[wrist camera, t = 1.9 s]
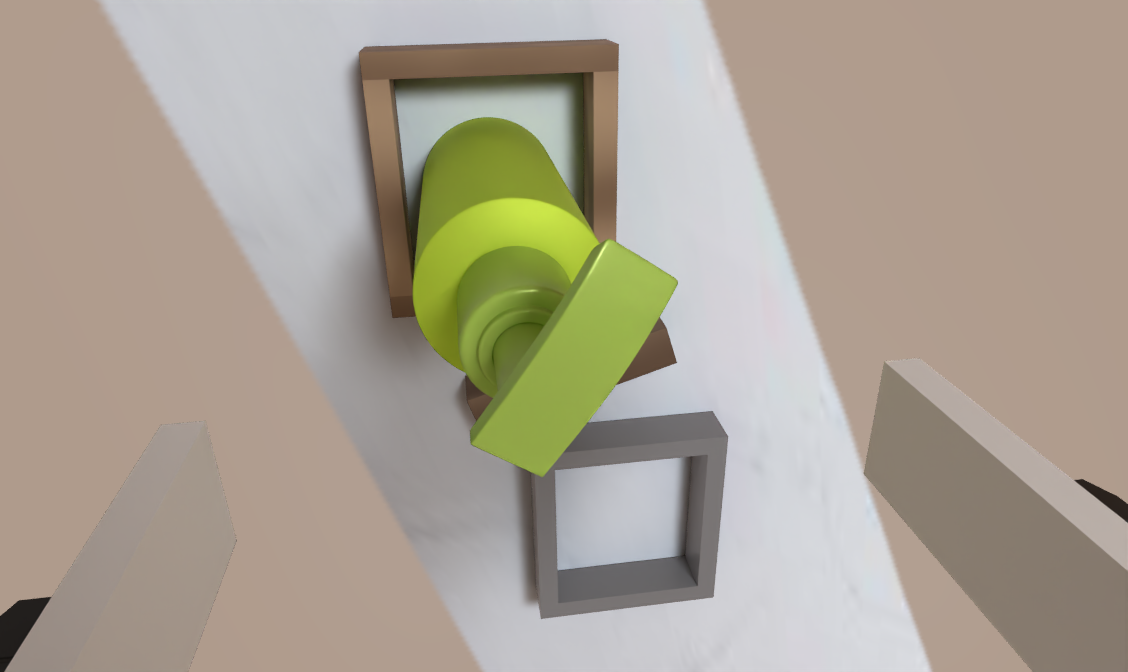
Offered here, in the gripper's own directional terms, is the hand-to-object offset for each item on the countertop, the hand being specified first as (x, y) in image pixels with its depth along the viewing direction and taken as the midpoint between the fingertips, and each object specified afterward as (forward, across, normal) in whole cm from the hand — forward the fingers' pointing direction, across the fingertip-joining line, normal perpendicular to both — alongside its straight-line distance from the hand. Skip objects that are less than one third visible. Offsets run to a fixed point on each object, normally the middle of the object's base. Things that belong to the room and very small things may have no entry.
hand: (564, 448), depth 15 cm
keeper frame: (+22, +6, -18) cm, 29 cm away
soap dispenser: (+22, 0, 0) cm, 22 cm away
